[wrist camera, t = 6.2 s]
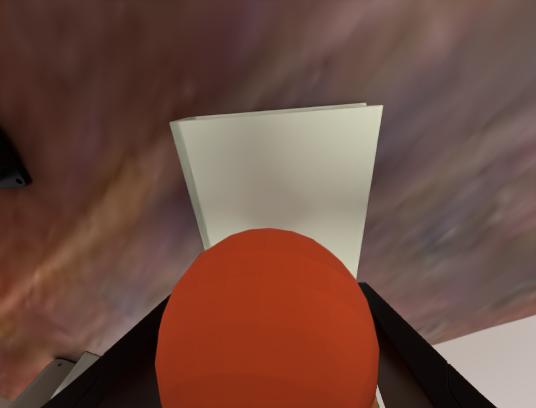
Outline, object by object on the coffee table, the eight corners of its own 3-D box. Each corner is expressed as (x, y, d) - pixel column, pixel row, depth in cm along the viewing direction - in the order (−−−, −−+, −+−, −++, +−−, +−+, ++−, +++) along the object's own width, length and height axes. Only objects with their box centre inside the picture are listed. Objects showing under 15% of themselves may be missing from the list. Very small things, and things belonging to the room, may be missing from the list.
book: (222, 257, 21) (213, 280, 19) (189, 116, 15) (169, 122, 12) (346, 255, 20) (355, 279, 17) (364, 102, 14) (382, 105, 11)
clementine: (398, 252, 10) (599, 549, 3) (310, 327, 13) (331, 555, 6) (241, 165, 8) (100, 383, 2) (185, 272, 11) (62, 490, 5)
